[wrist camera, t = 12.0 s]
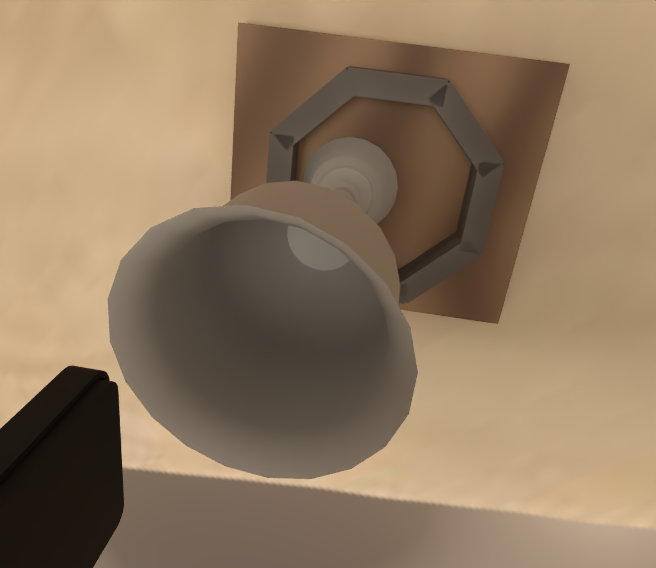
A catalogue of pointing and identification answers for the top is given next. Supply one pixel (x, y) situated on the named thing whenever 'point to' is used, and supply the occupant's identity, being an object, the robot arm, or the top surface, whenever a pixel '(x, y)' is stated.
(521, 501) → the top surface
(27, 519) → the robot arm
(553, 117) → the display stand
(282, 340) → the chalice
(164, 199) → the top surface
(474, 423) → the top surface
